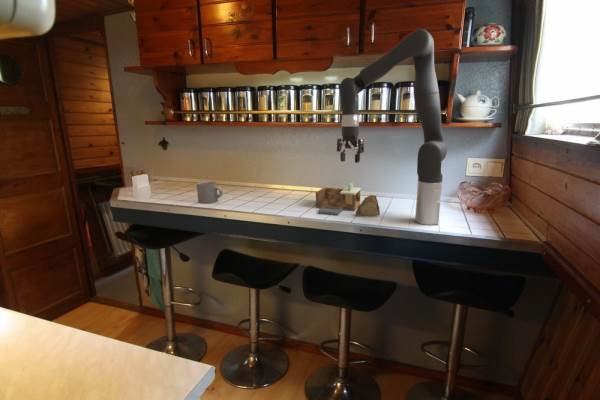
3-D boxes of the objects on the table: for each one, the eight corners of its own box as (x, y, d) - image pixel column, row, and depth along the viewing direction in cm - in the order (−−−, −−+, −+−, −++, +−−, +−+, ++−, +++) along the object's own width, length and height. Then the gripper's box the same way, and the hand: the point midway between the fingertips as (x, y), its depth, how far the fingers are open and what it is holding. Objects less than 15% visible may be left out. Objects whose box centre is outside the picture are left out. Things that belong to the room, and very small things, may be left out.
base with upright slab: (142, 194, 199) (139, 173, 197) (154, 195, 196) (152, 174, 193) (130, 197, 191) (127, 176, 188) (142, 198, 188) (139, 177, 185)
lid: (360, 189, 170) (360, 181, 169) (354, 194, 158) (355, 186, 158) (346, 188, 172) (346, 181, 171) (340, 193, 161) (340, 185, 160)
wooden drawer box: (360, 204, 171) (360, 190, 170) (354, 211, 160) (355, 195, 158) (323, 201, 178) (323, 187, 177) (315, 207, 167) (315, 192, 165)
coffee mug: (194, 202, 179) (192, 183, 177) (207, 198, 188) (205, 180, 185) (214, 205, 173) (212, 185, 171) (226, 200, 182) (225, 182, 180)
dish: (342, 210, 162) (342, 207, 161) (337, 215, 153) (337, 212, 153) (324, 208, 165) (324, 205, 165) (318, 213, 157) (318, 210, 156)
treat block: (355, 202, 168) (355, 192, 167) (353, 204, 164) (353, 194, 163) (347, 201, 169) (347, 192, 168) (345, 203, 166) (345, 193, 164)
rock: (351, 212, 150) (373, 212, 145) (353, 194, 153) (375, 194, 148) (359, 221, 158) (380, 221, 153) (361, 204, 161) (382, 204, 156)
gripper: (368, 125, 149) (367, 162, 153) (344, 125, 160) (344, 160, 164) (356, 125, 145) (356, 164, 148) (332, 125, 155) (333, 161, 159)
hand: (349, 161), depth 156 cm, fingers open, 8 cm apart
